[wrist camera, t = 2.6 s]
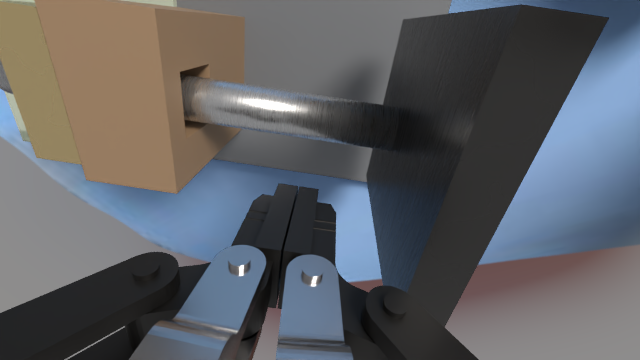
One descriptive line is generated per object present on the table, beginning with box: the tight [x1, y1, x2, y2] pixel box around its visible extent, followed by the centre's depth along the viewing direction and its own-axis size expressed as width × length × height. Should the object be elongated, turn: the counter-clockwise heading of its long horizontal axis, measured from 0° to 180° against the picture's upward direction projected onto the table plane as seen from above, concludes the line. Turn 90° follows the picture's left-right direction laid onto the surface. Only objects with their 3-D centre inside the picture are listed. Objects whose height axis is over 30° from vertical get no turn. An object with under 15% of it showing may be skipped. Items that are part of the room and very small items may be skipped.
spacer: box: [0, 0, 82, 164], centre depth 14 cm, size 2×6×6 cm, turn 172°
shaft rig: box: [4, 0, 452, 194], centre depth 16 cm, size 28×13×11 cm, turn 82°
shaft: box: [0, 5, 609, 327], centre depth 12 cm, size 19×9×11 cm, turn 82°
